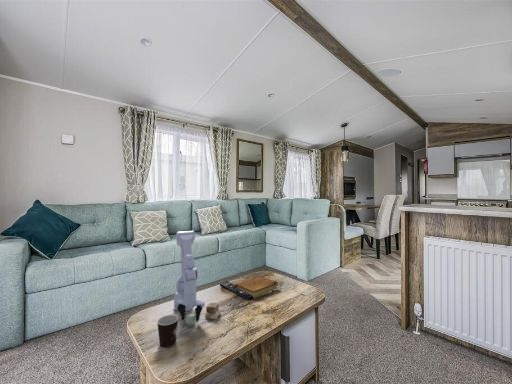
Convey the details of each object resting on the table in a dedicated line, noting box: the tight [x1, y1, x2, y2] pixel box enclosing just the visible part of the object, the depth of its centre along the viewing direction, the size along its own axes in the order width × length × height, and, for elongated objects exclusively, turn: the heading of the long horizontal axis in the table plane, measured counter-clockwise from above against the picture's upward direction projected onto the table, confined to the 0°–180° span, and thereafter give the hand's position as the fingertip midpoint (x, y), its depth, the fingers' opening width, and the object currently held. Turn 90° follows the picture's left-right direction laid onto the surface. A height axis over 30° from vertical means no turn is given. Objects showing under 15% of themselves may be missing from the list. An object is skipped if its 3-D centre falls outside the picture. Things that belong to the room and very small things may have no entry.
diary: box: [234, 275, 279, 300], centre depth 161 cm, size 23×19×6 cm
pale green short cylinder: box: [185, 313, 196, 327], centre depth 119 cm, size 4×4×4 cm
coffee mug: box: [156, 314, 179, 348], centre depth 105 cm, size 12×9×10 cm
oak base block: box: [204, 308, 221, 320], centre depth 127 cm, size 6×6×3 cm
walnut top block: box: [205, 302, 220, 313], centre depth 127 cm, size 5×5×3 cm
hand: (190, 320), depth 119 cm, fingers open, 7 cm apart
